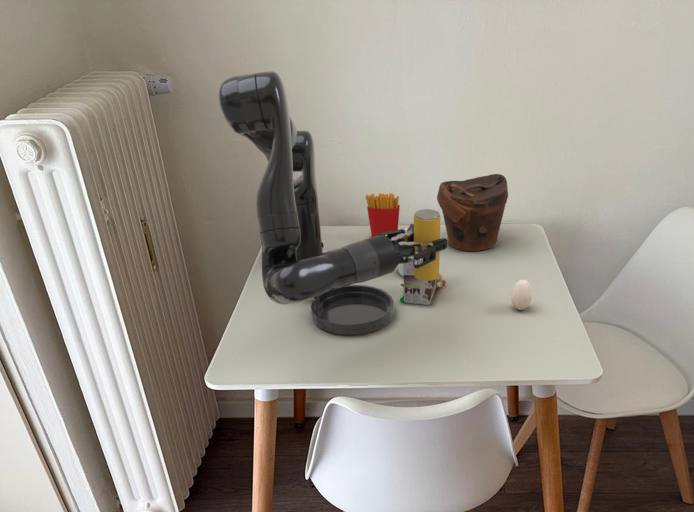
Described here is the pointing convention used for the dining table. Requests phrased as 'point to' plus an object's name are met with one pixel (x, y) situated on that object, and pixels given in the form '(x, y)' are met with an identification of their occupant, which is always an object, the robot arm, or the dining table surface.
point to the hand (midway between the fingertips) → (436, 238)
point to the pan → (352, 309)
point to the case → (473, 210)
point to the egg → (521, 294)
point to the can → (427, 232)
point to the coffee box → (416, 284)
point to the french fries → (383, 213)
